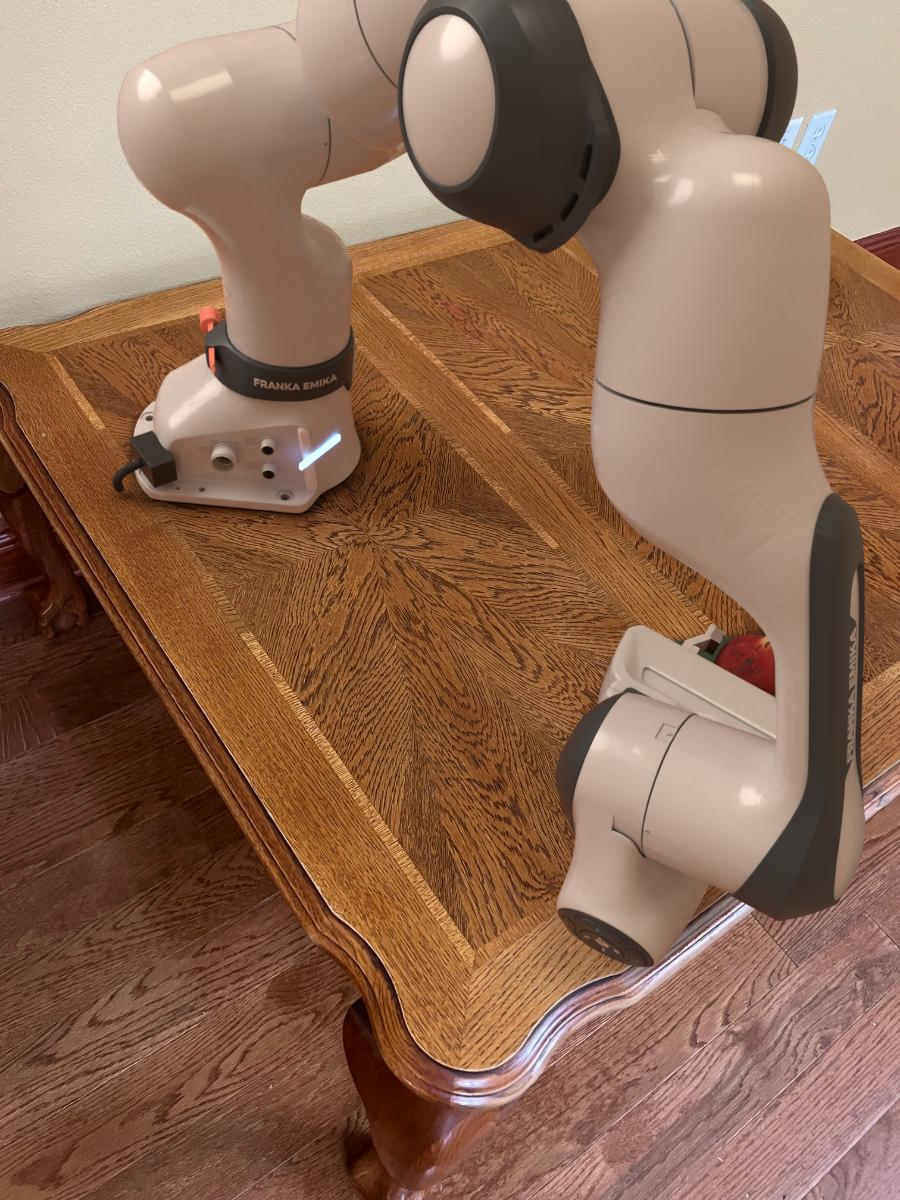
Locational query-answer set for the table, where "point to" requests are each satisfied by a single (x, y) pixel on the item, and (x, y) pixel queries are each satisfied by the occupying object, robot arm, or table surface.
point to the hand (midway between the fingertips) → (758, 654)
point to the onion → (750, 661)
